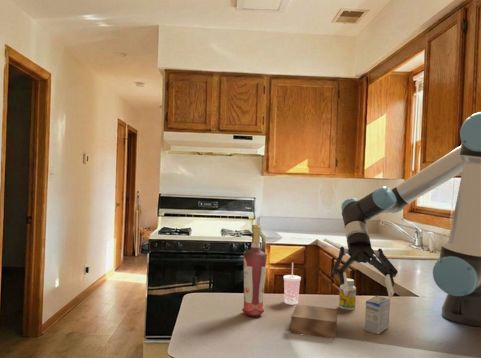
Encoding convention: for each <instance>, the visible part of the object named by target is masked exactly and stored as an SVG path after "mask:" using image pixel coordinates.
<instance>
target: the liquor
mask: <svg viewBox="0 0 481 358" xmlns="http://www.w3.org/2000/svg"><path fill="white" fill-rule="evenodd" d="M251 227H252V228H251V232H252V237H251V246H250V249H248V250H247V251H245V252H244V253H243V308H241V310H242V312H243V313H244V314H245V315H246V316H247V317H252V318H259V317H260V316H261V315H262V314H263V313H264V312H265V310H264V294H265V283H266V282H265V281H266V271H267V260H268V259H267V257H268V254H266V252H265V251H264V250H261V237H260V234H261V225H260V224H252V225H251Z"/></svg>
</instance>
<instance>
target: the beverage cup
mask: <svg viewBox="0 0 481 358" xmlns="http://www.w3.org/2000/svg"><path fill="white" fill-rule="evenodd" d="M301 281H302V276H299V275H295V274H294V262H291V274H285V275H283V288H284V289H283V290H284V291H283V292H284V293H283V294H284V296H283V297H284V303H285V304H287V305H294V306H295V305H297V304H298V305H299V294H300V285H301V284H300V283H301Z"/></svg>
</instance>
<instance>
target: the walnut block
mask: <svg viewBox="0 0 481 358" xmlns="http://www.w3.org/2000/svg"><path fill="white" fill-rule="evenodd" d="M337 313H338V309H337V308H332V307H321V306H314V305H305V304H299V303H298V304H295V308H294V310H293V312H292V313H291V315H290V316H291V317H290V318H291V320H290V321H291V322H290V334H295V335H300V334H303V335H302V336H308V335H309V336H308V337H316V338H322V339H323V338H325V339H330V338H331V339H332V340H336V334H337V332H336V331H337V322H338V321H337V319H338V318H337V316H338V314H337Z"/></svg>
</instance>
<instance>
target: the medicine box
mask: <svg viewBox="0 0 481 358" xmlns="http://www.w3.org/2000/svg"><path fill="white" fill-rule="evenodd" d="M390 307H391V298H387V297H384V296H379V295H375V296H374V297H372V298H369V299H367V300H366V301H365V313H364V331H366V332H369V333H373V334H377V335H380V334H381V333H382V332H384V331H386V329H388V328H389V326H390V325H389V324H390V311H391V310H390V309H391V308H390Z"/></svg>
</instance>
